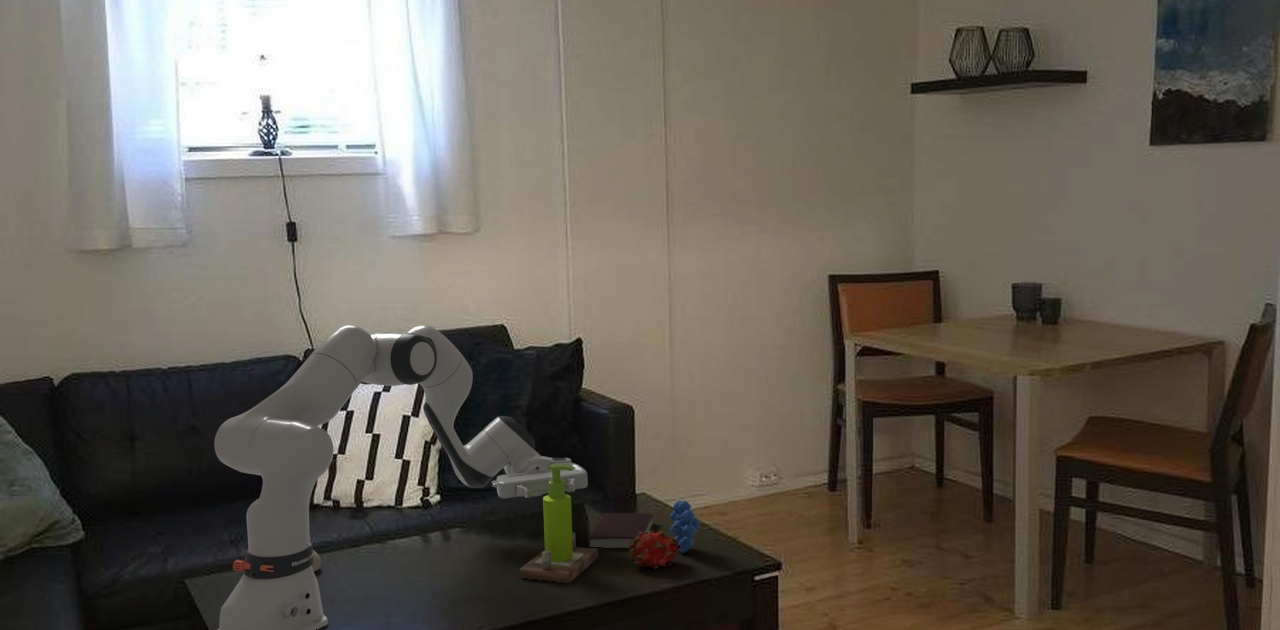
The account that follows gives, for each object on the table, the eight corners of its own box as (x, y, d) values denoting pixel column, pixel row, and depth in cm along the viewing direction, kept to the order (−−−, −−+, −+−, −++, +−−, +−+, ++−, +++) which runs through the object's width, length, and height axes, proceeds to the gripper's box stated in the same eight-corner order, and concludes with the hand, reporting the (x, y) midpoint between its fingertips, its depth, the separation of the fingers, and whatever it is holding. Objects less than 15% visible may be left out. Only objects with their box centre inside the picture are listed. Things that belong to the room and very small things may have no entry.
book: (587, 550, 251) (587, 536, 250) (602, 524, 270) (602, 511, 269) (643, 551, 249) (642, 537, 249) (654, 525, 268) (654, 512, 268)
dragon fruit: (624, 576, 237) (676, 576, 241) (638, 563, 230) (691, 563, 235) (619, 537, 241) (670, 538, 246) (633, 523, 234) (685, 524, 239)
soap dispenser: (573, 563, 235) (570, 469, 232) (541, 561, 236) (538, 468, 234) (580, 553, 240) (577, 462, 238) (549, 552, 242) (546, 461, 239)
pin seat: (568, 583, 229) (568, 557, 228) (520, 578, 233) (519, 552, 232) (597, 558, 244) (597, 533, 243) (551, 553, 248) (550, 529, 247)
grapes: (711, 558, 242) (710, 504, 241) (681, 562, 240) (680, 507, 239) (692, 542, 253) (691, 490, 252) (664, 545, 251) (663, 493, 250)
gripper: (488, 467, 251) (502, 482, 239) (576, 457, 258) (594, 471, 246) (489, 495, 252) (504, 511, 239) (577, 483, 259) (595, 499, 246)
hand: (550, 491), depth 242 cm, fingers open, 8 cm apart
